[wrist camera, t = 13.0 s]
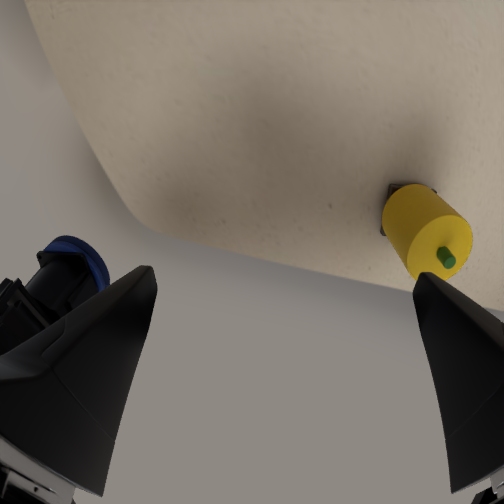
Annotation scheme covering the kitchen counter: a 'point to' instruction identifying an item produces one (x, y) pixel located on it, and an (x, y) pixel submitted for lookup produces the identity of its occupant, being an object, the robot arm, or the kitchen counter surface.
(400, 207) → the pepper
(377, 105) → the kitchen counter surface
